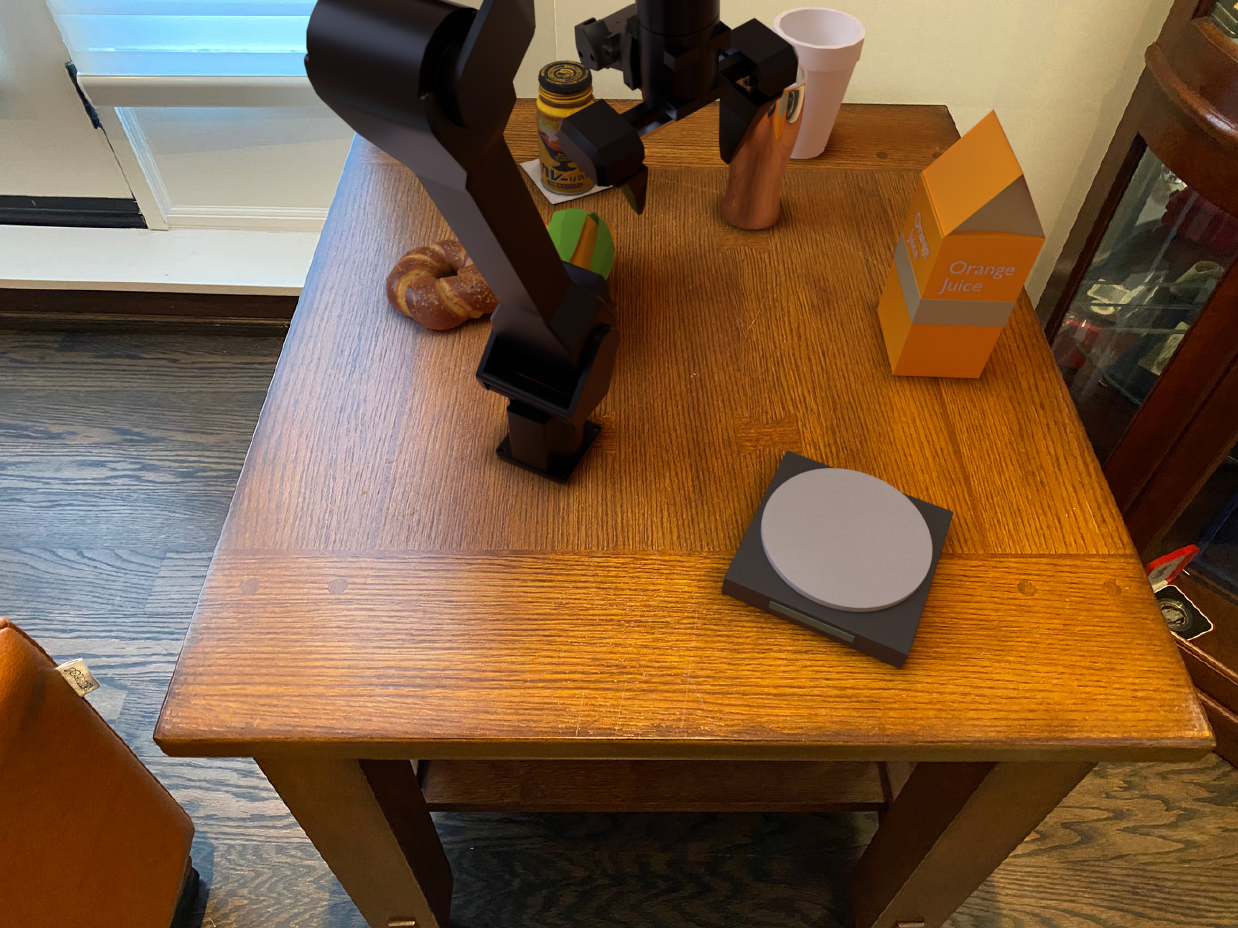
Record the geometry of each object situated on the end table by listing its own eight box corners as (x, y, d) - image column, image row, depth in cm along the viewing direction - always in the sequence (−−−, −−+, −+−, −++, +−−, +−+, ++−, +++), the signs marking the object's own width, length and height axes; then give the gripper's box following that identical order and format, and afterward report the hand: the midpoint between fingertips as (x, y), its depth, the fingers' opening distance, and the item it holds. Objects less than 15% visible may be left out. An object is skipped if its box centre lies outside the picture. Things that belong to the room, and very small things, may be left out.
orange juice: (891, 375, 75) (966, 170, 60) (875, 308, 81) (940, 104, 65) (981, 379, 75) (1080, 174, 60) (959, 311, 81) (1044, 108, 65)
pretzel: (507, 250, 86) (504, 218, 83) (527, 322, 79) (524, 290, 76) (384, 267, 84) (376, 234, 81) (393, 342, 77) (385, 310, 74)
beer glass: (782, 196, 92) (809, 55, 80) (784, 235, 88) (812, 93, 76) (717, 191, 92) (733, 50, 81) (715, 230, 88) (732, 88, 76)
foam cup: (834, 172, 95) (862, 54, 85) (750, 160, 96) (768, 42, 86) (841, 128, 101) (867, 12, 91) (762, 117, 102) (779, 2, 92)
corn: (620, 185, 79) (584, 331, 67) (624, 253, 85) (592, 400, 73) (541, 182, 80) (491, 326, 68) (550, 250, 86) (506, 394, 74)
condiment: (552, 206, 90) (547, 95, 81) (519, 165, 95) (511, 56, 86) (614, 188, 93) (616, 78, 83) (579, 149, 97) (577, 41, 88)
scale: (900, 670, 58) (911, 652, 56) (720, 593, 61) (724, 574, 59) (945, 527, 65) (956, 506, 63) (782, 465, 69) (788, 444, 67)
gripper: (714, -92, 65) (712, 89, 78) (501, 12, 61) (537, 184, 74) (813, -25, 60) (792, 155, 73) (589, 92, 56) (611, 261, 69)
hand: (682, 186), depth 73 cm, fingers open, 9 cm apart
